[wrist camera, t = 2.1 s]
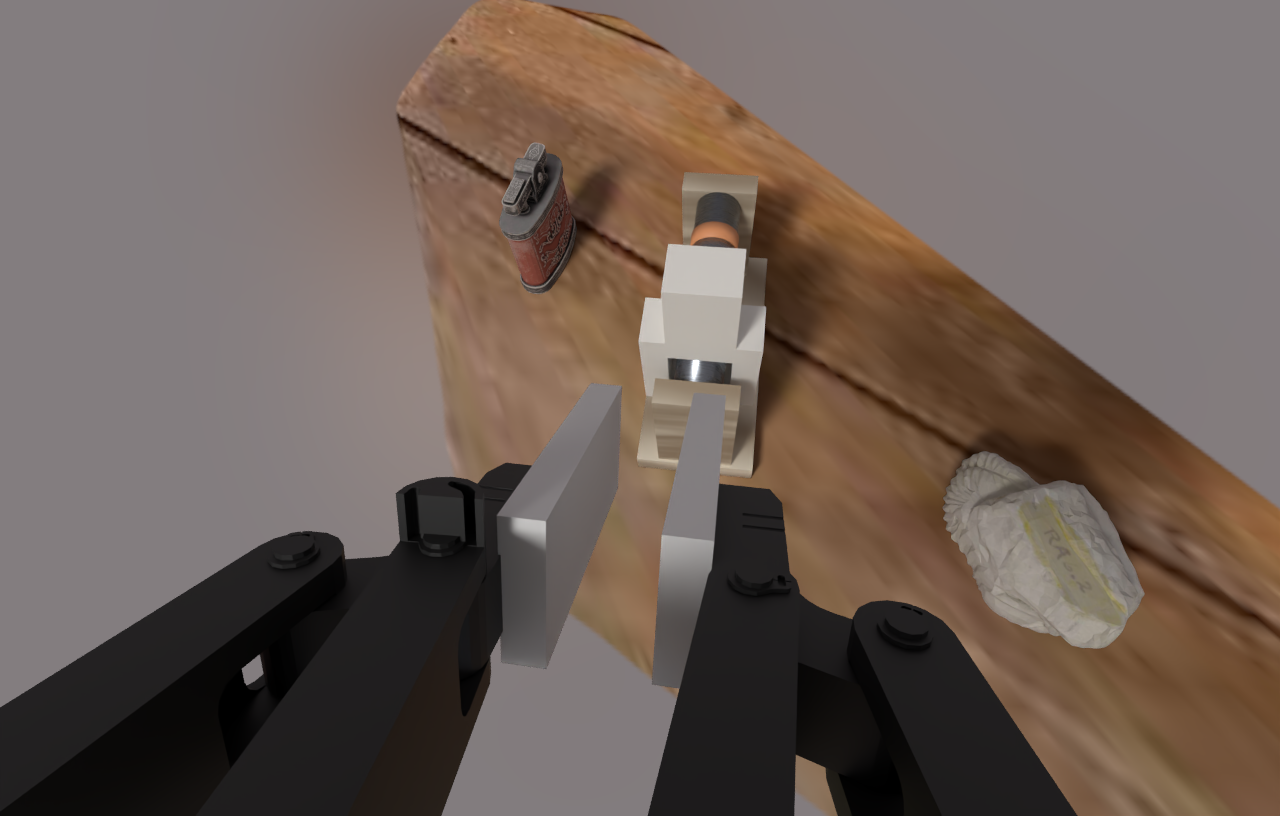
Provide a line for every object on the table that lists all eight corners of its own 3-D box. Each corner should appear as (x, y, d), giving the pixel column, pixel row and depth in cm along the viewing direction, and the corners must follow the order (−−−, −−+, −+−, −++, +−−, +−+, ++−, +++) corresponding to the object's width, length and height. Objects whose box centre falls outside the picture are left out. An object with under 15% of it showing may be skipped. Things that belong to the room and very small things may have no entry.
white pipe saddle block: (752, 405, 43) (773, 300, 32) (646, 396, 44) (631, 289, 33) (755, 365, 45) (776, 250, 34) (652, 356, 45) (639, 242, 35)
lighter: (548, 215, 59) (522, 123, 50) (584, 223, 58) (564, 130, 49) (514, 289, 55) (479, 204, 46) (551, 297, 55) (524, 214, 46)
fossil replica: (979, 446, 47) (887, 547, 45) (1016, 394, 40) (908, 512, 38) (1150, 566, 42) (1054, 685, 40) (1229, 532, 35) (1116, 677, 33)
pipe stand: (750, 478, 47) (765, 415, 37) (638, 466, 48) (625, 402, 38) (765, 270, 54) (781, 173, 45) (668, 263, 55) (663, 167, 46)
